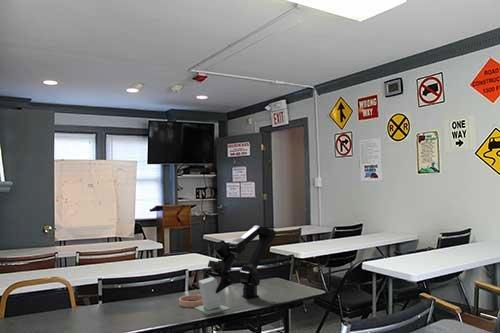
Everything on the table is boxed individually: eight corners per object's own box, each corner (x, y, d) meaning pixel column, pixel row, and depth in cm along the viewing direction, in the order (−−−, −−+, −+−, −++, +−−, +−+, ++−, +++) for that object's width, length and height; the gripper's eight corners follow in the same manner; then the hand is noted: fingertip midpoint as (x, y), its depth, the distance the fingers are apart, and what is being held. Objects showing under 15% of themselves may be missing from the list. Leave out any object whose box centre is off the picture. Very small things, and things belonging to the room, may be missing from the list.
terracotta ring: (197, 298, 209) (197, 293, 209) (209, 303, 199) (209, 298, 199) (174, 302, 202) (174, 297, 202) (186, 308, 192) (186, 303, 192)
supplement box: (222, 305, 189) (217, 279, 189) (207, 310, 186) (202, 283, 186) (217, 301, 196) (212, 276, 195) (203, 306, 193) (197, 280, 193)
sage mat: (216, 303, 199) (216, 302, 199) (229, 309, 190) (229, 308, 190) (194, 308, 192) (194, 307, 192) (207, 314, 183) (207, 313, 183)
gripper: (204, 251, 201) (187, 278, 193) (230, 255, 189) (213, 284, 180) (216, 265, 207) (200, 291, 198) (243, 269, 194) (226, 298, 185)
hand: (209, 291), depth 190 cm, fingers open, 9 cm apart
